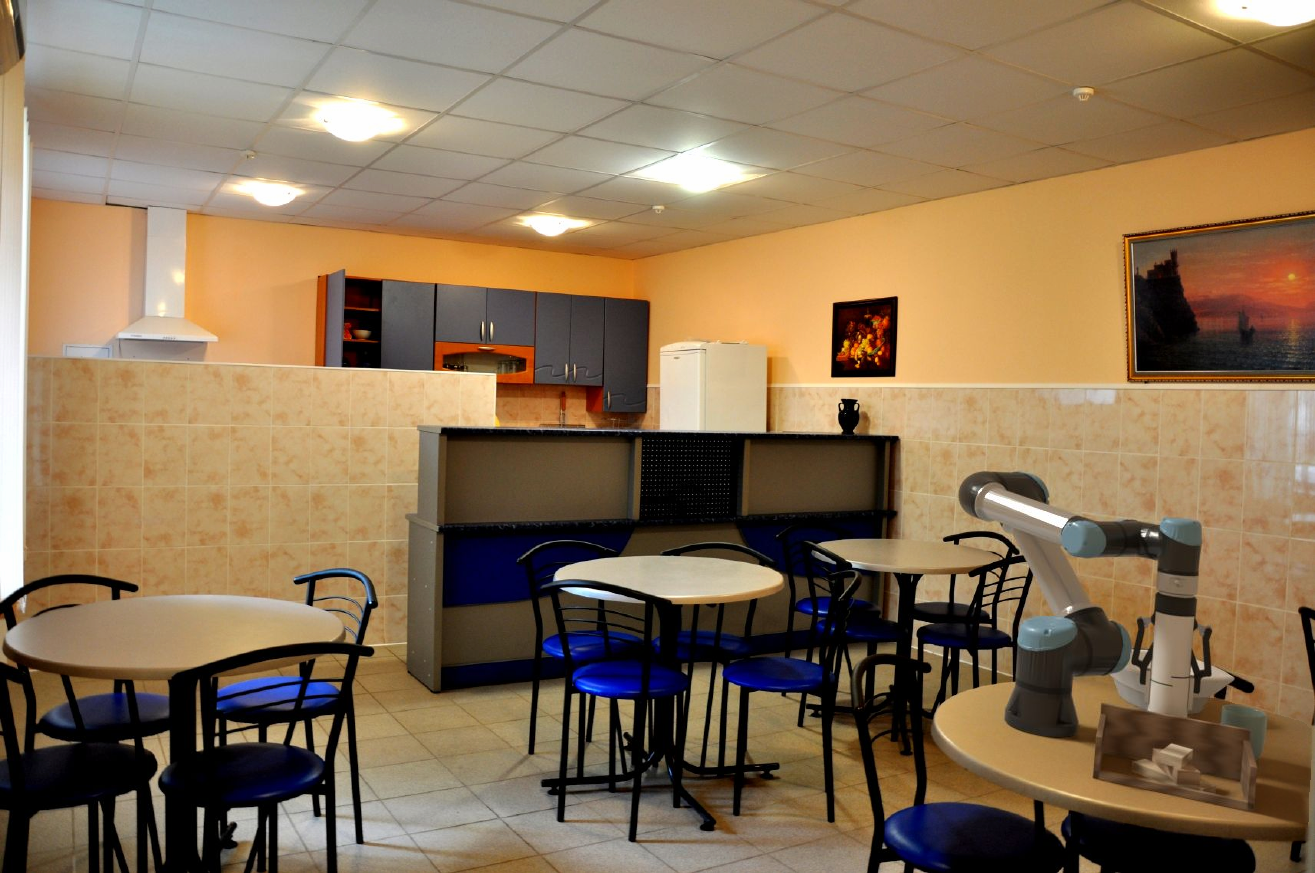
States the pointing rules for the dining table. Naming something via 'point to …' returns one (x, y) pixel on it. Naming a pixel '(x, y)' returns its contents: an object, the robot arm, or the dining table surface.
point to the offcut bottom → (1165, 776)
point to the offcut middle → (1178, 771)
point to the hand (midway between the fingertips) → (1167, 704)
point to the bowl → (1135, 691)
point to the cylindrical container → (1171, 664)
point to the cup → (1247, 724)
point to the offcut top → (1175, 756)
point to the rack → (1211, 744)
